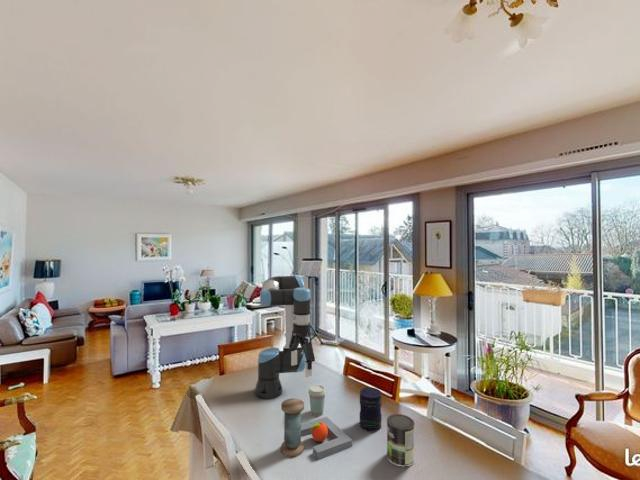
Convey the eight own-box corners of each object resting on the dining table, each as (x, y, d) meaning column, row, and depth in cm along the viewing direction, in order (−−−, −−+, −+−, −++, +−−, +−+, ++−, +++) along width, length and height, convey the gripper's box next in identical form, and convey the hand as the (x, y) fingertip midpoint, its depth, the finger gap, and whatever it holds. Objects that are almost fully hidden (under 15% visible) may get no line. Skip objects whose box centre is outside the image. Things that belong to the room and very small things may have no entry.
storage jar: (383, 421, 144) (383, 389, 145) (379, 433, 135) (380, 398, 136) (361, 417, 148) (361, 386, 148) (357, 429, 138) (357, 395, 139)
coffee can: (391, 468, 114) (391, 429, 114) (383, 450, 124) (383, 414, 125) (418, 466, 115) (418, 428, 115) (408, 448, 125) (408, 413, 125)
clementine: (313, 447, 125) (313, 429, 126) (306, 438, 132) (306, 421, 132) (330, 442, 129) (330, 424, 129) (322, 433, 135) (323, 416, 135)
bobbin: (277, 446, 126) (277, 401, 126) (297, 440, 130) (297, 396, 131) (286, 459, 118) (286, 411, 119) (307, 452, 123) (307, 406, 123)
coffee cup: (324, 418, 147) (324, 393, 147) (306, 416, 148) (306, 391, 149) (327, 409, 155) (327, 385, 155) (310, 407, 157) (310, 383, 157)
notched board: (295, 432, 136) (295, 426, 136) (326, 422, 144) (326, 416, 144) (317, 459, 119) (317, 452, 119) (352, 446, 127) (352, 439, 127)
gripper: (282, 317, 148) (281, 362, 148) (307, 331, 127) (307, 383, 127) (296, 315, 152) (295, 359, 152) (323, 328, 130) (322, 379, 131)
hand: (301, 370), depth 139 cm, fingers open, 13 cm apart
